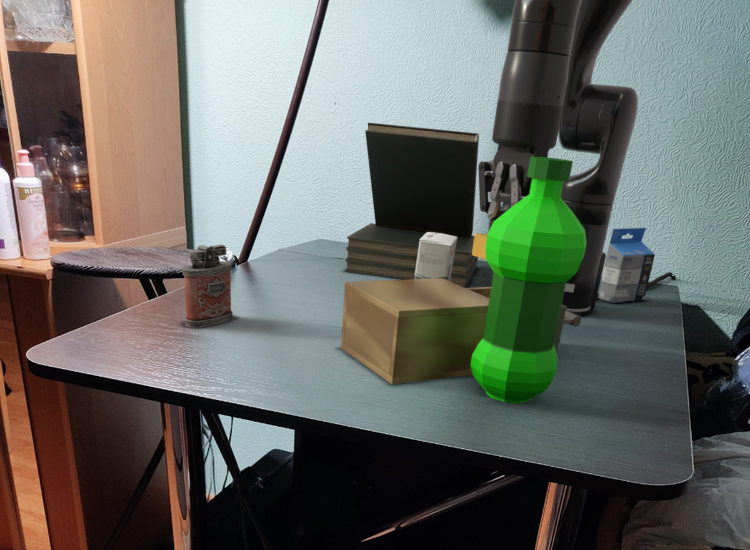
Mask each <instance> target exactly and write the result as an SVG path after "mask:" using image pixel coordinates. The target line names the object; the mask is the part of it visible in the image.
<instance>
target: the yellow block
mask: <svg viewBox="0 0 750 550" xmlns="http://www.w3.org/2000/svg"><path fill="white" fill-rule="evenodd" d="M487 234H488V233H474V235H473V236H474V243H473V250H472V255H473V256H476V257H478V259H482V260H485V261H486V251H485V246H486V239H487Z"/></svg>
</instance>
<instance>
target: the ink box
mask: <svg viewBox="0 0 750 550" xmlns="http://www.w3.org/2000/svg"><path fill="white" fill-rule="evenodd" d="M456 243H457V237H456V236H451V235H447V234H442V233H434V232H427V233H426V234H425V235H423V236H422V237H421V238H420V242H419V249H418V256H417V263H416V270H415V278H414V279H436V278H443V279H445V280H447V281H451V275H452V268H453V262H454V256H455V249H456Z"/></svg>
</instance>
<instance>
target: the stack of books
mask: <svg viewBox="0 0 750 550" xmlns="http://www.w3.org/2000/svg"><path fill="white" fill-rule="evenodd" d="M364 133H365V141H366V142H365V143H366V150H367V160H368V167H369V168H368V169H369V177H370V187H371V195H372V205H373V214H374V222H375V223H372V222H370V223H368V224H367V225H365V226H363V227H361V228H360V229H358V230H356V231H355V232H353V233H352V234H350V235H348V236H347V237H346V239H347V243H348V244H347V247H346V248H345V249H346V251H347V257H346V258H345V262H346V269H345V270H344V272H345V273H351V274H358V275H359V274H360V275H367V276H368V275H369V276H374V277H382V278H389V279H395V280H410V279H414V278H415V270H416V263H417V256H418V249H419V242H420V238H421V237H422V236H423V235H425V234H426V233H427V232H434V233H442V234H447V235H451V236H456V237H457V243H456V249H455V256H454V262H453V268H452V275H451V281H450V282H452V283H454V284H457V285H459V286H461V287H464V288H467V286H468V285H469V283H470V281H471V279H472V277H473V275H474V274H475V272H476V270H477V268H478V261H479V257H476V256H473V255H472V250H473V243H474V236H475V235H473V232H474V220H475V218H474V217H475V207H476V188H477V174H478V173H477V171H478V158H479V141H480V133H478V132H470V131H469V132H468V131H457V130H448V129H447V130H446V129H437V128H429V127H417V126H407V125H397V124H396V125H395V124H388V123H387V124H386V123H376V122H367V129H365V132H364Z"/></svg>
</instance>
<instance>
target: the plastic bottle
mask: <svg viewBox="0 0 750 550" xmlns="http://www.w3.org/2000/svg"><path fill="white" fill-rule="evenodd" d="M573 163H574V160H570V159H563V158H556V157H548V158H547V157H530V162H529V168H528V174H527V177H530V178H532V182H531V188H530V194H529V195H528V196H526V197H523V198H524V199H522V200H521V201H519V202H518V203H517V204H515V205H514V206H511V208H510V209H509V210H507V211H506V212H505V213H504V214H503V215H501V216H500V217H499V218H498V219H496V220H495V221H494V222H493V224H492V226H491V228H490V230H489V229H488V230H489V232H488V231H487V233H486V234H487V239H486V246H485V251H486V260H485V261H486V263H487V264H488V266H489V267H490V269H491V270H492V272H493V274H492V280H491V286H490V287H491V292H490V299H489V305H488V311H487V317H486V324H485V330H484V336H483V339H482V340H481V341H480V343H479V344H478V345H477V347H476V349H475V351H474V352H473V354H472V359H471V369H472V373H473V375H472V376H473V377H474V379H475V381H476V383H478V384H479V386H480V387H481V388H482V390H483V391H485V394H486V395H487V396H489V397H490V398H491V399H493V400H495V401H498V402H499V401H500V402H503V403H507V404H519V405H520V404H525V403H528V402H530V400H531V399H534V398H536V397H537V396H539V395H541V394H543V393H544V392H545V391H547V390H548V389H549V387H550V385H551V384H552V382H553V381H554V378H555V376H556V372H557V368H558V364H559V360H558V355H557V354H558V353H557V354H556V350H555V347H554V344H553V343H554V338H555V333H556V329H557V324H558V319H559V314H560V309H561V305H562V300H563V295H564V290H565V285H566V281H568V280H569V279H570V278H571V277H573V276H574V275H575V274H576V273H577V271H578V269H579V266H580V264H581V262H582V259H583V257H584V254H585V249H586V244H587V241H586V234H585V229H584V228H583V226H582V225H581V223H580V222H579V220H578V219H577V218H576V216H575V215H574V213H573V212H572V211H571V209H570V208H569V207H568V206H567V204H566V203H565V202H564V201H563V200H562V198H561V192H562V187H563V182H564V181H569V179H570V176H571V173H572V169H573Z"/></svg>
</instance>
